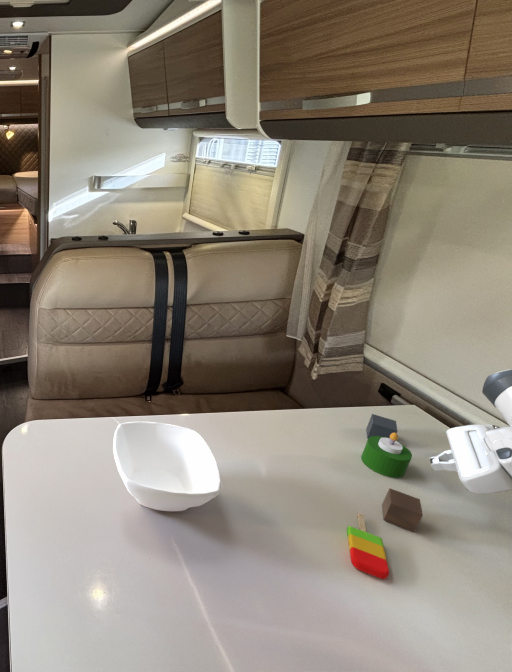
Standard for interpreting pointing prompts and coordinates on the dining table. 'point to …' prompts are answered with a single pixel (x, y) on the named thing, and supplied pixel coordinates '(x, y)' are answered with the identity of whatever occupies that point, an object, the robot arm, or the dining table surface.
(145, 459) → the bowl
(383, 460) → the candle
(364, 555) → the popsicle
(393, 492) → the walnut block
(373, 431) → the slate block
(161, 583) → the dining table surface
